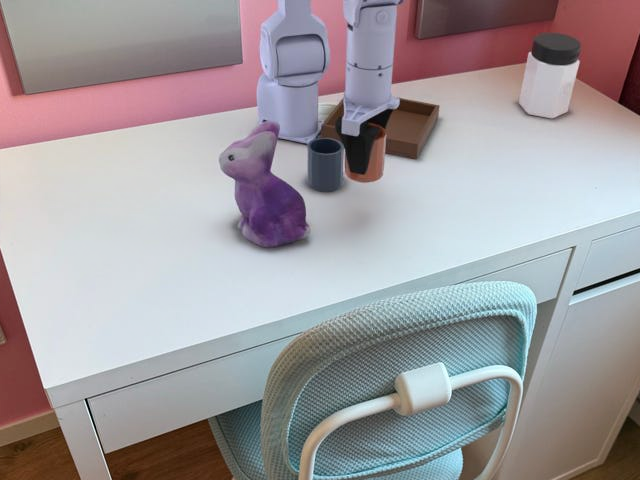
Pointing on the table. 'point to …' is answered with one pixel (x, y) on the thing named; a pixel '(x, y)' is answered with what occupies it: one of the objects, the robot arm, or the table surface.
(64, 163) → the table surface
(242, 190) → the figurine
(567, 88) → the jar
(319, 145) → the blue cup
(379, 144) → the orange cup
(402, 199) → the table surface
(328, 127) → the tray
